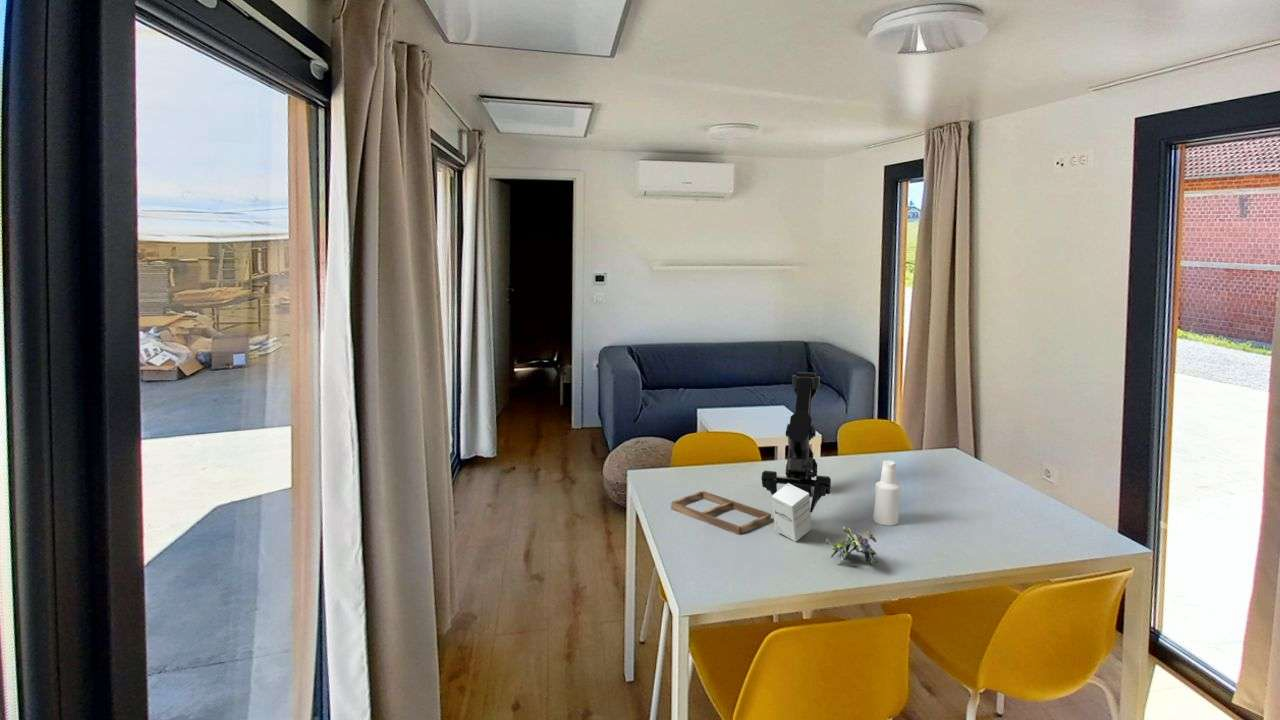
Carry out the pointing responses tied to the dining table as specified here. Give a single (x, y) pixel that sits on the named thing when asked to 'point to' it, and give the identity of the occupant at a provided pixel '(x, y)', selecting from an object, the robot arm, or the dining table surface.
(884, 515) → the spray bottle
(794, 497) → the supplement box
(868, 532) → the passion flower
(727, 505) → the wooden compartment frame
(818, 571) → the dining table surface
